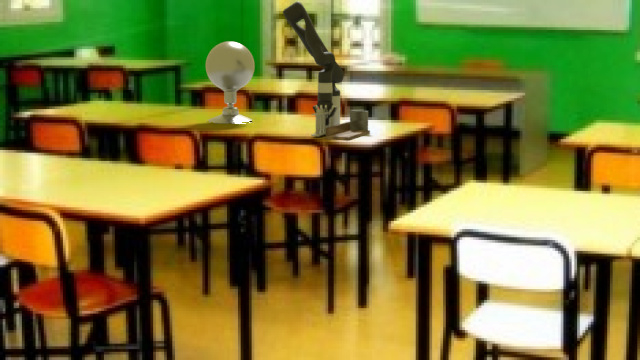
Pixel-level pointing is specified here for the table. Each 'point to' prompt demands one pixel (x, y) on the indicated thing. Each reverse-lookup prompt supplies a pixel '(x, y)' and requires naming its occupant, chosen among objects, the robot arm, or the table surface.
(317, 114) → the long lego plate
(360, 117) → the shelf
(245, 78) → the desk lamp
